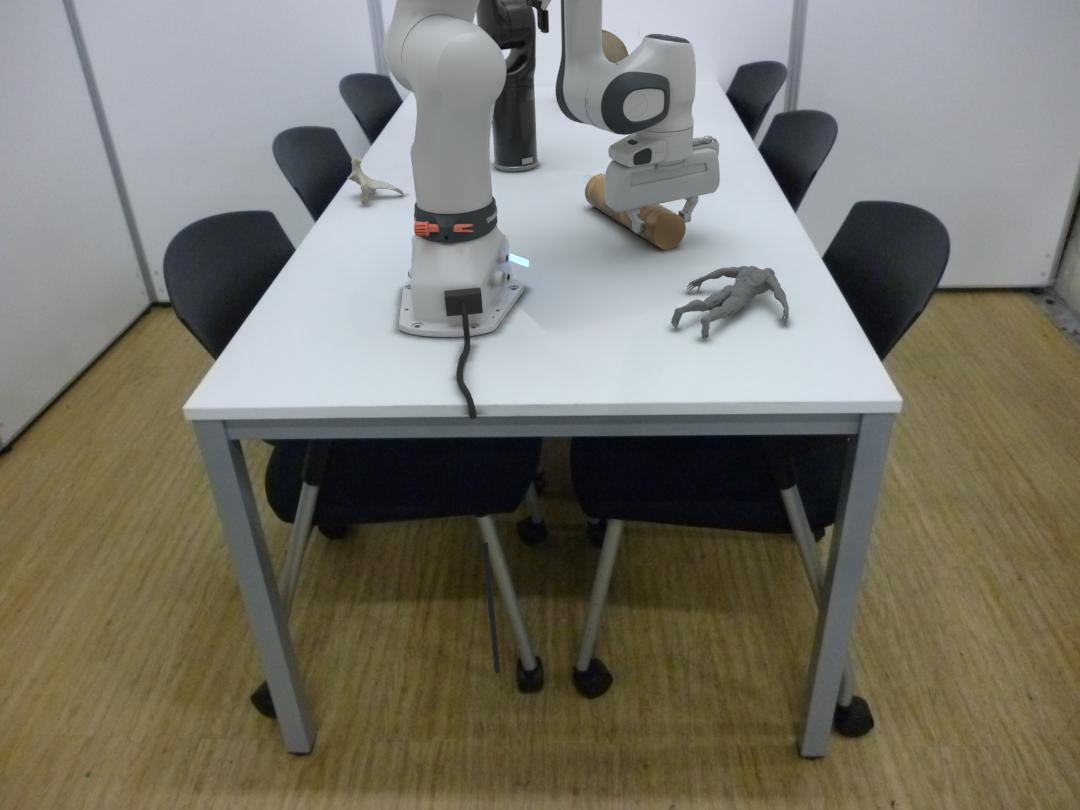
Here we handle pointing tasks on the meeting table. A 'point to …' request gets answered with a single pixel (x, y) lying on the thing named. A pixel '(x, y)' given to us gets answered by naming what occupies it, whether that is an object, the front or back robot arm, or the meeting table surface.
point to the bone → (367, 181)
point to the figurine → (732, 294)
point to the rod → (641, 217)
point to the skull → (613, 47)
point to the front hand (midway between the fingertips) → (661, 226)
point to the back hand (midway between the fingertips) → (566, 30)
